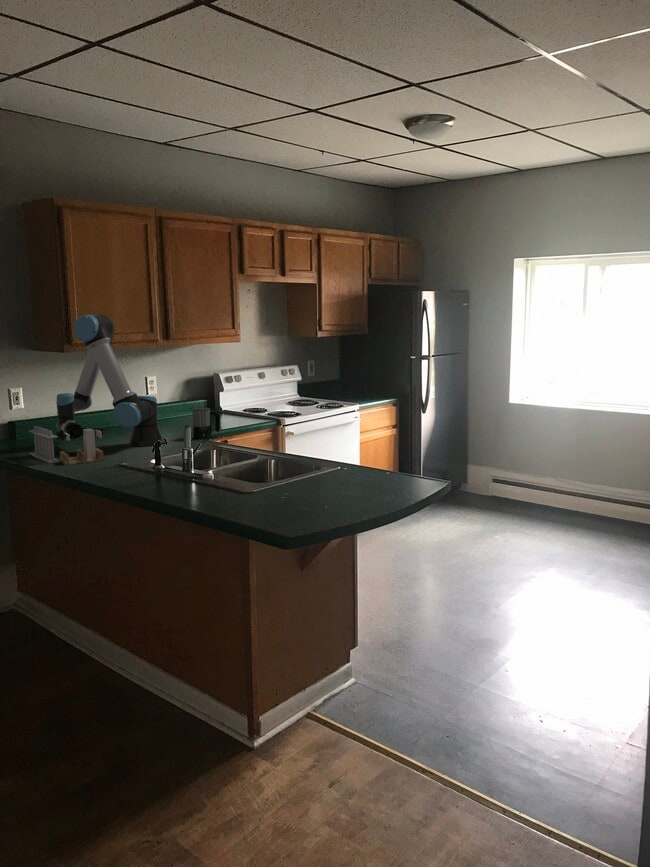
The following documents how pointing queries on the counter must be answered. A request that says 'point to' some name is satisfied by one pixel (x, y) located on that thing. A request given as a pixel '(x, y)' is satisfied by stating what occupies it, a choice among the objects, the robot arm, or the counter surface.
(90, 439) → the grey upright block
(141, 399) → the robot arm
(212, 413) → the milk frother
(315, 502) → the counter surface
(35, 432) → the test tube rack
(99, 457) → the oak rack
